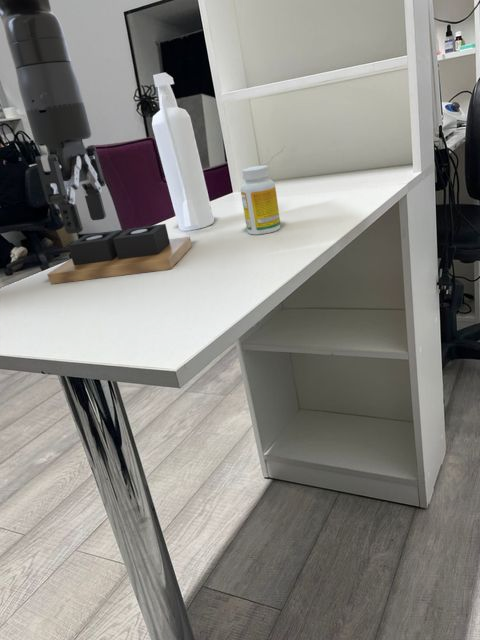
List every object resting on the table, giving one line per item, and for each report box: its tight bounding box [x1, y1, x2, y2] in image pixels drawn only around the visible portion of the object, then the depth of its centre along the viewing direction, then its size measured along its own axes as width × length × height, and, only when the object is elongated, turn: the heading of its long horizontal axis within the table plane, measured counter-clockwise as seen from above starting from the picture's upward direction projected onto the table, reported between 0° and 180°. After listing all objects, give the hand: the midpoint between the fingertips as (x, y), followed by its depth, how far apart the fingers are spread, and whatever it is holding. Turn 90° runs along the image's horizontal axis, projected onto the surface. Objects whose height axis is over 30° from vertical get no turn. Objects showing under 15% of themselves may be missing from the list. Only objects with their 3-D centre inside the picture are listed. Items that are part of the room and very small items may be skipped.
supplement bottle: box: [240, 165, 281, 236], centre depth 84 cm, size 5×5×10 cm
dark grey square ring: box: [67, 229, 123, 265], centre depth 80 cm, size 6×6×3 cm
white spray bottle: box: [151, 72, 215, 232], centre depth 92 cm, size 7×12×25 cm, turn 178°
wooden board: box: [47, 229, 193, 285], centre depth 79 cm, size 18×12×4 cm, turn 83°
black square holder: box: [113, 223, 170, 259], centre depth 78 cm, size 6×6×3 cm
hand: (87, 225), depth 78 cm, fingers open, 8 cm apart
